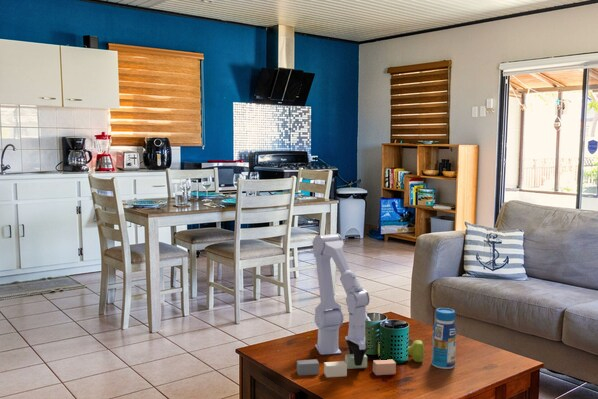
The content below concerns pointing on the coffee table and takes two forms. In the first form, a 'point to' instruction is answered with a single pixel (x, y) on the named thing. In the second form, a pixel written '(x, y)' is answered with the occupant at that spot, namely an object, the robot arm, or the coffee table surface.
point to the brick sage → (351, 364)
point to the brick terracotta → (384, 367)
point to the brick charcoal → (307, 367)
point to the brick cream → (335, 369)
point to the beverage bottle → (444, 339)
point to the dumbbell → (413, 350)
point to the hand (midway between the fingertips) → (356, 362)
